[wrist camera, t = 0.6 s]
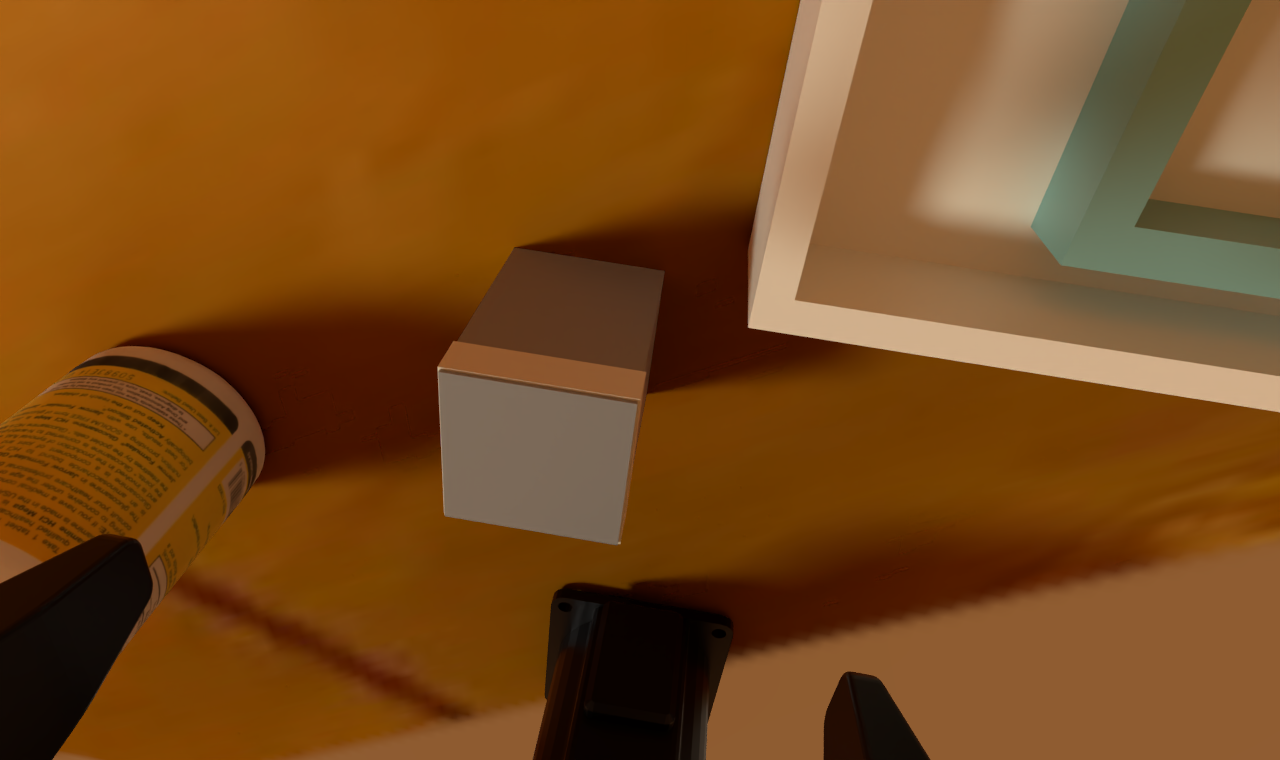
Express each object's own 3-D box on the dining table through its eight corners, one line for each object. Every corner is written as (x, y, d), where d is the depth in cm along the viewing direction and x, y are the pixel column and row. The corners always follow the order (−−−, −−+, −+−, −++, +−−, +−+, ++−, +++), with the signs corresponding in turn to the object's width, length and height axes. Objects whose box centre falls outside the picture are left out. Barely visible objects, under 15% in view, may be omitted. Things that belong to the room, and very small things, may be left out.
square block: (648, 395, 22) (619, 547, 17) (510, 373, 22) (443, 517, 17) (667, 269, 20) (640, 402, 15) (512, 245, 20) (435, 369, 15)
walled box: (1394, 349, 19) (1532, 452, 15) (748, 248, 19) (747, 327, 16) (1912, -297, 12) (2359, -359, 9) (890, -424, 12) (941, -530, 9)
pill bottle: (45, 348, 24) (-387, 645, 15) (215, 327, 23) (-143, 637, 14) (150, 495, 27) (-151, 812, 18) (303, 484, 26) (63, 818, 17)
